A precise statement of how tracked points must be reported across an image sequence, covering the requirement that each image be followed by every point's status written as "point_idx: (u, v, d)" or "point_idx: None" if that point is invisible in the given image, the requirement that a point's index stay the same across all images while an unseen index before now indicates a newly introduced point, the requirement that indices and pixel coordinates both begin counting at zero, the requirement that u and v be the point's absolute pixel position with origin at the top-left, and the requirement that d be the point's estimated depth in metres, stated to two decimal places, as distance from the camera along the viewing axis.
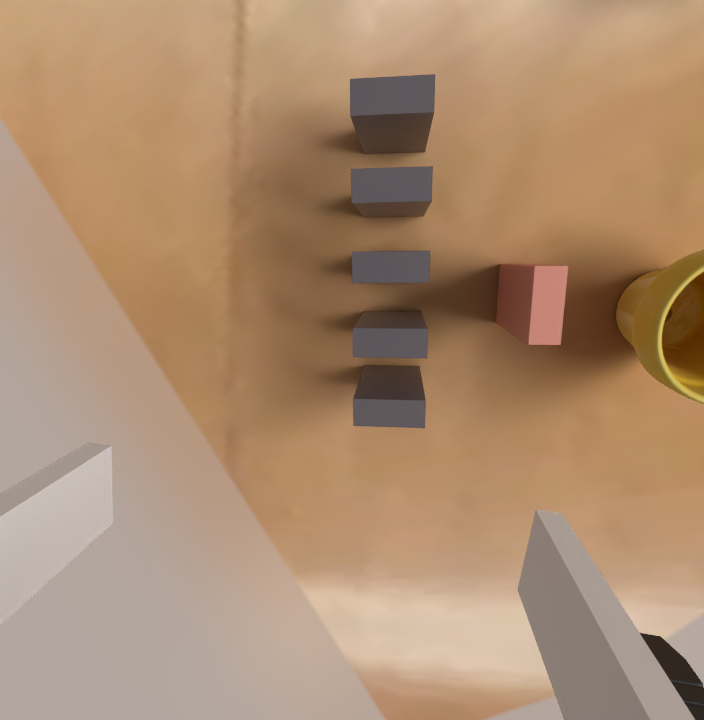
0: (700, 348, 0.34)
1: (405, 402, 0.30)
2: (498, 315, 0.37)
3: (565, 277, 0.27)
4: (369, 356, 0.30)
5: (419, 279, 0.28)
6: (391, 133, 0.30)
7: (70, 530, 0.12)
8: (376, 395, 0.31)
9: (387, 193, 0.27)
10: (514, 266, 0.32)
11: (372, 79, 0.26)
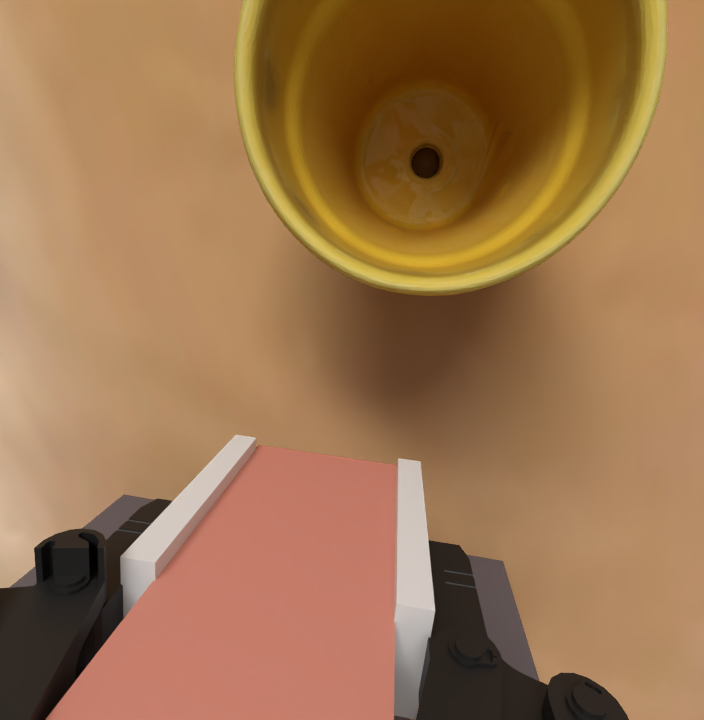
0: (502, 94, 0.16)
1: None
2: None
3: None
4: None
5: None
6: None
7: None
8: None
9: None
10: None
11: None
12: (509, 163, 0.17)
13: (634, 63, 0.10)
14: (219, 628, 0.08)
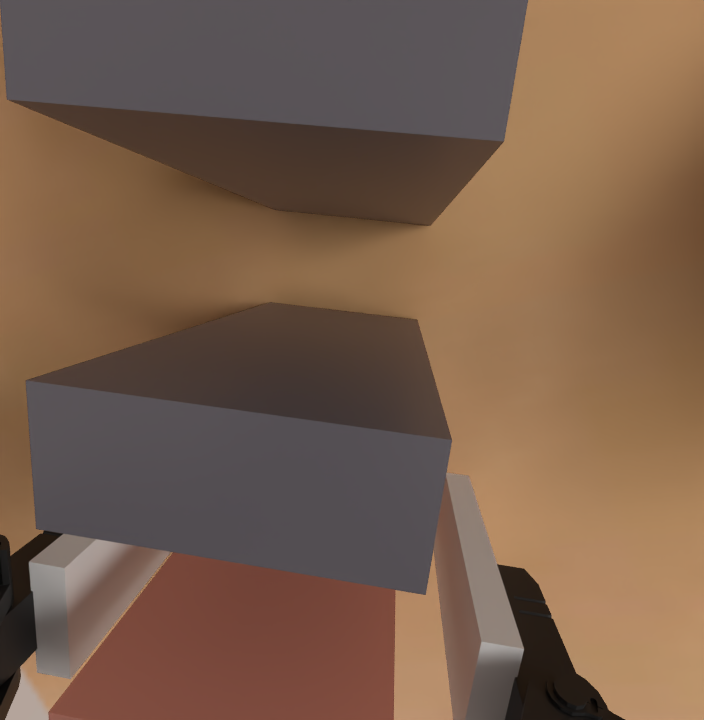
0: None
1: (328, 435, 0.05)
2: None
3: None
4: (113, 101, 0.04)
5: None
6: None
7: None
8: (189, 377, 0.06)
9: None
10: None
11: None
12: None
13: None
14: (226, 610, 0.08)
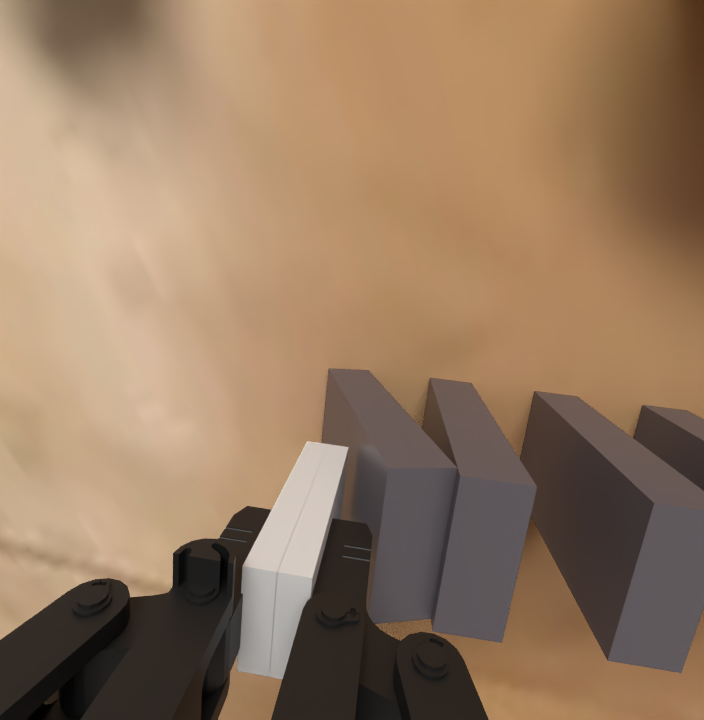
0: None
1: None
2: None
3: None
4: None
5: None
6: None
7: None
8: None
9: (498, 572, 0.12)
10: None
11: (374, 584, 0.13)
12: None
13: None
14: None
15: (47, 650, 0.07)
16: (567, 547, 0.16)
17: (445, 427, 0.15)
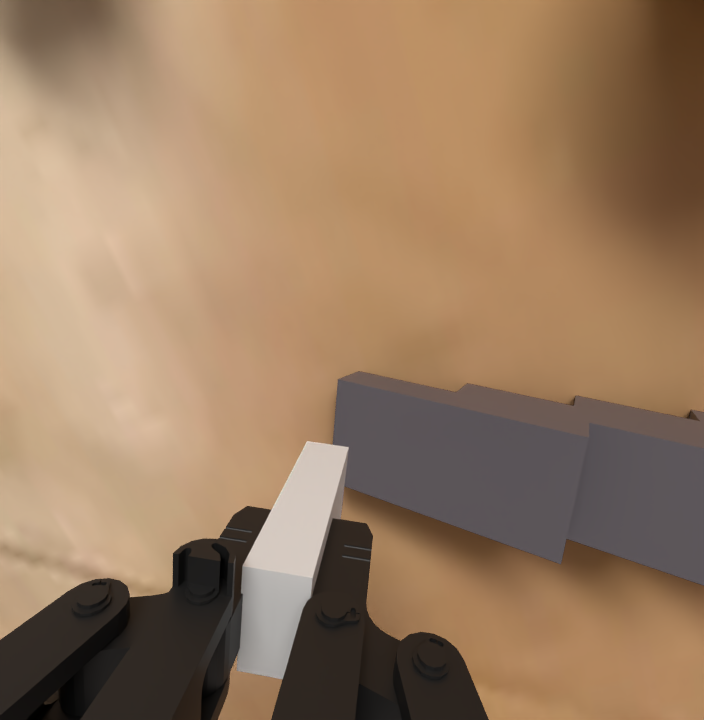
0: None
1: None
2: None
3: None
4: None
5: None
6: None
7: None
8: None
9: None
10: None
11: (566, 530, 0.16)
12: None
13: None
14: None
15: (47, 650, 0.07)
16: None
17: (626, 431, 0.16)
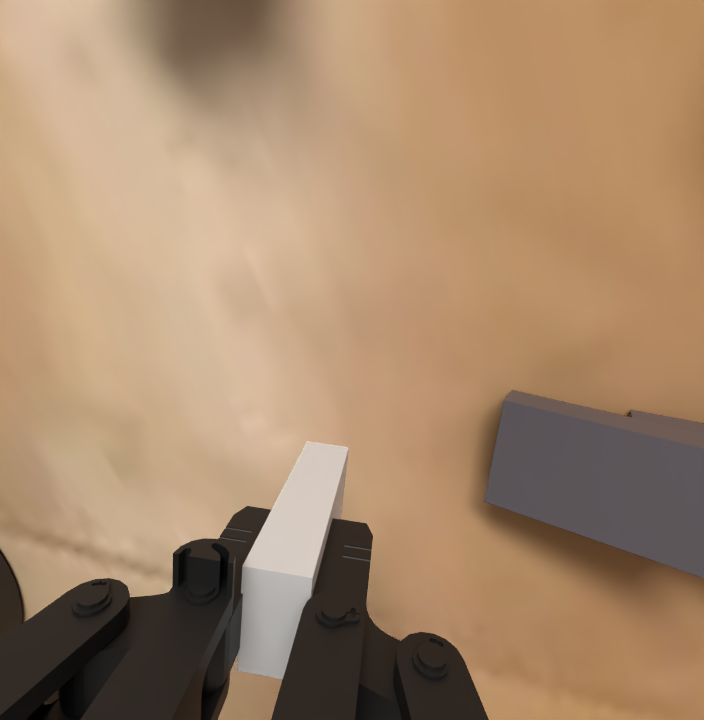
0: None
1: None
2: None
3: None
4: None
5: None
6: None
7: None
8: None
9: None
10: None
11: None
12: None
13: None
14: None
15: (47, 650, 0.07)
16: None
17: None
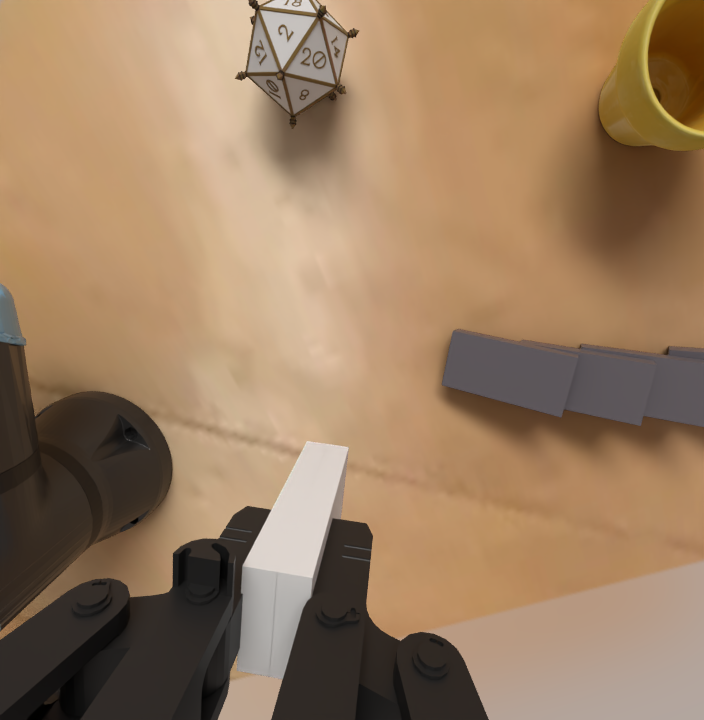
0: None
1: None
2: None
3: None
4: None
5: None
6: None
7: None
8: None
9: None
10: None
11: (565, 401, 0.35)
12: None
13: None
14: None
15: (47, 650, 0.07)
16: (659, 406, 0.36)
17: (604, 356, 0.35)
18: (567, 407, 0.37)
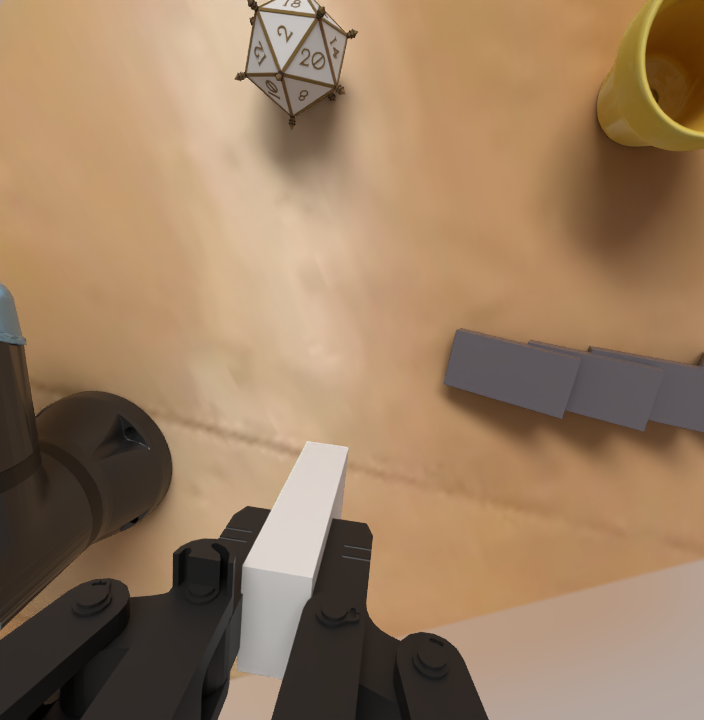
0: None
1: None
2: None
3: None
4: None
5: None
6: None
7: None
8: None
9: None
10: None
11: (566, 403, 0.35)
12: None
13: None
14: None
15: (47, 650, 0.07)
16: (664, 411, 0.36)
17: (612, 360, 0.35)
18: (572, 409, 0.37)
